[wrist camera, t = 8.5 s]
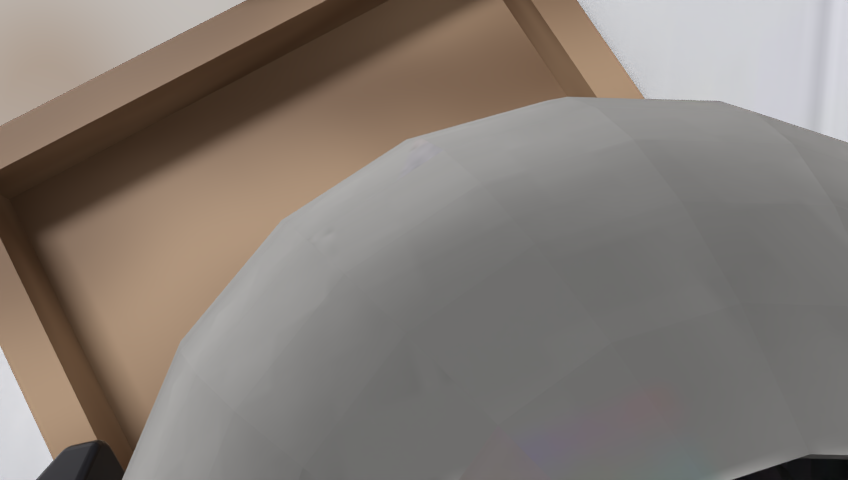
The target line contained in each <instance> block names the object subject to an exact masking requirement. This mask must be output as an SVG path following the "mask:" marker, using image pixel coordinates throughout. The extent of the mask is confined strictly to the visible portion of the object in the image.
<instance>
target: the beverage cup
mask: <svg viewBox="0 0 848 480" xmlns="http://www.w3.org/2000/svg"><path fill="white" fill-rule="evenodd" d="M122 480H848V143H847V142H844V141H841V140H838V139H835V138H832V137H829V136H826V135H823V134H820V133H817V132H814V131H811V130H808V129H805V128H801V127H798V126H795V125H792V124H789V123H786V122H783V121H780V120H777V119H774V118H771V117H768V116H765V115H762V114H759V113H756V112H753V111H750V110H746V109H743V108H740V107H737V106H734V105H730V104H727V103H724V102H721V101H696V100H661V99H627V98H593V97H563V98H558V99H553V100H547V101H543V102H540V103H536V104H532V105H529V106H525V107H522V108H518V109H514V110H511V111H507V112H504V113H500V114H496V115H493V116H489V117H485V118H482V119H478V120H475V121H471V122H467V123H464V124H460V125H457V126H453V127H449V128H446V129H442V130H439V131H435V132H431V133H428V134H424V135H420V136H417V137H413V138H410V139H406V140H405V141H403V142H402V143H400V144H399V145H397V146H395V147H394V148H392V149H391V150H389V151H388V152H386V153H385V154H383V155H382V156H380V157H378V158H377V159H375V160H374V161H372V162H371V163H369V164H368V165H366V166H365V167H363V168H361V169H360V170H358V171H357V172H355V173H354V174H352V175H351V176H349V177H348V178H346V179H344V180H343V181H341V182H340V183H338V184H337V185H335V186H334V187H332V188H331V189H329V190H327V191H326V192H324V193H323V194H321V195H320V196H318V197H317V198H315V199H314V200H312V201H310V202H309V203H307V204H306V205H304V206H303V207H301V208H300V209H298V210H297V211H295V212H293V213H292V214H290V215H289V216H287V217H286V218H284V219H283V220H281V221H280V223H279V224H278V225H277V226H276V227H275V229H274V230H273V231H272V232H271V233H270V235H269V236H268V237H267V238H266V239H265V241H264V242H263V243H262V244H261V245H260V247H259V248H258V249H257V250H256V251H255V253H254V254H253V255H252V256H251V257H250V259H249V260H248V261H247V262H246V263H245V265H244V266H243V267H242V268H241V269H240V271H239V272H238V273H237V274H236V275H235V277H234V278H233V279H232V280H231V281H230V283H229V284H228V285H227V286H226V287H225V289H224V290H223V291H222V292H221V293H220V295H219V296H218V297H217V298H216V299H215V301H214V302H213V303H212V304H211V305H210V307H209V308H208V309H207V310H206V311H205V313H204V314H203V315H202V316H201V317H200V319H199V320H198V321H197V322H196V323H195V325H194V326H193V327H192V328H191V329H190V331H189V332H188V333H187V334H186V335H185V337H184V338H183V339H182V340H181V341H180V344H179V346H178V348H177V351H176V353H175V355H174V358H173V360H172V363H171V365H170V367H169V370H168V372H167V374H166V377H165V379H164V382H163V384H162V386H161V389H160V391H159V393H158V396H157V398H156V401H155V403H154V405H153V408H152V410H151V412H150V415H149V417H148V419H147V422H146V424H145V427H144V429H143V431H142V434H141V436H140V438H139V441H138V443H137V446H136V448H135V450H134V453H133V455H132V457H131V460H130V462H129V464H128V467H127V469H126V472H125V474H124V476H123V479H122Z"/></svg>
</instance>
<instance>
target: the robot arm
mask: <svg viewBox="0 0 848 480" xmlns="http://www.w3.org/2000/svg"><path fill="white" fill-rule="evenodd" d="M124 474H125V471H124V469H123V467H122V466H121V464H120V462H119V460H118V459H117V457H116V455H115V454H114V452H113V450H112V448H111V447H110V446H109V444H108V443H107V442H105V441H103V440H94V441H89V442H85V443H80V444H75V445H71V446H69V447H67V448H65V449H64V450H63V451H62V452H61V453H60V454H59V455H58V456H57V457H56V458H55V459H54V460H53V461H52V463H51V464H50V465H49V466H48V467H47V468H46V469H45V470H44V472H43V473H42V474H41V475H40V476H39V477H38V478H37V479H36V480H122V479H123V476H124Z"/></svg>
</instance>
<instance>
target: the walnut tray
mask: <svg viewBox="0 0 848 480" xmlns="http://www.w3.org/2000/svg"><path fill="white" fill-rule="evenodd" d="M563 97H593V98H627V99H645V98H644V97H643V96H642V94H641V93H640V91H639V90H638V88H637V87H636V85H635V84H634V82H633V81H632V80H631V78H630V77H629V75H628V74H627V72H626V71H625V69H624V68H623V67H622V65H621V64H620V62H619V61H618V59H617V58H616V56H615V55H614V54H613V52H612V51H611V49H610V48H609V46H608V45H607V43H606V42H605V41H604V39H603V38H602V36H601V35H600V33H599V32H598V30H597V29H596V28H595V26H594V25H593V23H592V22H591V20H590V19H589V17H588V16H587V14H586V13H585V12H584V10H583V9H582V7H581V6H580V4H579V3H578V1H577V0H246V1H244V2H242V3H240V4H238V5H236V6H234V7H232V8H230V9H229V10H227V11H225V12H223V13H221V14H219V15H217V16H215V17H213V18H211V19H209V20H207V21H205V22H203V23H201V24H199V25H197V26H195V27H193V28H191V29H189V30H187V31H185V32H183V33H182V34H180V35H178V36H176V37H174V38H172V39H170V40H168V41H166V42H164V43H162V44H160V45H158V46H156V47H154V48H152V49H150V50H149V51H146V52H144V53H142V54H141V55H138V56H137V57H135V58H133V59H131V60H129V61H127V62H125V63H123V64H121V65H119V66H117V67H115V68H113V69H111V70H109V71H107V72H105V73H104V74H101V75H99V76H97V77H95V78H94V79H91V80H90V81H88V82H86V83H84V84H82V85H80V86H78V87H76V88H74V89H72V90H70V91H68V92H66V93H64V94H63V95H60V96H58V97H56V98H54V99H52V100H50V101H48V102H46V103H45V104H43V105H41V106H39V107H37V108H35V109H33V110H31V111H29V112H27V113H25V114H23V115H21V116H19V117H17V118H15V119H13V120H11V121H9V122H7V123H5V124H3V125H1V126H0V346H1V348H2V350H3V352H4V355H5V357H6V359H7V361H8V363H9V365H10V367H11V370H12V372H13V374H14V376H15V378H16V380H17V382H18V385H19V387H20V389H21V391H22V393H23V395H24V397H25V400H26V402H27V404H28V406H29V408H30V410H31V412H32V415H33V417H34V419H35V421H36V423H37V425H38V428H39V430H40V432H41V434H42V436H43V438H44V440H45V443H46V445H47V447H48V449H49V451H50V453H51V455H52V458H53V460H54V459H55V458H56V457H57V456H58V455H59V454H60V453H61V452H62V451H63V450H64V449H65V448H67V447H69V446H71V445H75V444H80V443H85V442H89V441H94V440H103V441H105V442H107V443H108V444H109V446H110V447H111V448H112V450H113V452H114V454H115V455H116V457H117V459H118V460H119V462H120V464H121V466H122V467H123V469H124V471H125V472H126V469H127V467H128V464H129V462H130V460H131V457H132V455H133V453H134V450H135V448H136V446H137V443H138V441H139V438H140V436H141V434H142V431H143V429H144V427H145V424H146V422H147V419H148V417H149V415H150V412H151V410H152V408H153V405H154V403H155V401H156V398H157V396H158V393H159V391H160V389H161V386H162V384H163V382H164V379H165V377H166V374H167V372H168V370H169V367H170V365H171V363H172V360H173V358H174V355H175V353H176V351H177V348H178V346H179V344H180V341H181V340H182V339H183V338H184V337H185V335H186V334H187V333H188V332H189V331H190V329H191V328H192V327H193V326H194V325H195V323H196V322H197V321H198V320H199V319H200V317H201V316H202V315H203V314H204V313H205V311H206V310H207V309H208V308H209V307H210V305H211V304H212V303H213V302H214V301H215V299H216V298H217V297H218V296H219V295H220V293H221V292H222V291H223V290H224V289H225V287H226V286H227V285H228V284H229V283H230V281H231V280H232V279H233V278H234V277H235V275H236V274H237V273H238V272H239V271H240V269H241V268H242V267H243V266H244V265H245V263H246V262H247V261H248V260H249V259H250V257H251V256H252V255H253V254H254V253H255V251H256V250H257V249H258V248H259V247H260V245H261V244H262V243H263V242H264V241H265V239H266V238H267V237H268V236H269V235H270V233H271V232H272V231H273V230H274V229H275V227H276V226H277V225H278V224H279V223H280V221H281V220H283V219H284V218H286V217H287V216H289V215H290V214H292V213H293V212H295V211H297V210H298V209H300V208H301V207H303V206H304V205H306V204H307V203H309V202H310V201H312V200H314V199H315V198H317V197H318V196H320V195H321V194H323V193H324V192H326V191H327V190H329V189H331V188H332V187H334V186H335V185H337V184H338V183H340V182H341V181H343V180H344V179H346V178H348V177H349V176H351V175H352V174H354V173H355V172H357V171H358V170H360V169H361V168H363V167H365V166H366V165H368V164H369V163H371V162H372V161H374V160H375V159H377V158H378V157H380V156H382V155H383V154H385V153H386V152H388V151H389V150H391V149H392V148H394V147H395V146H397V145H399V144H400V143H402V142H403V141H405V140H406V139H410V138H413V137H417V136H420V135H424V134H428V133H431V132H435V131H439V130H442V129H446V128H449V127H453V126H457V125H460V124H464V123H467V122H471V121H475V120H478V119H482V118H485V117H489V116H493V115H496V114H500V113H504V112H507V111H511V110H514V109H518V108H522V107H525V106H529V105H532V104H536V103H540V102H543V101H547V100H553V99H558V98H563Z"/></svg>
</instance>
